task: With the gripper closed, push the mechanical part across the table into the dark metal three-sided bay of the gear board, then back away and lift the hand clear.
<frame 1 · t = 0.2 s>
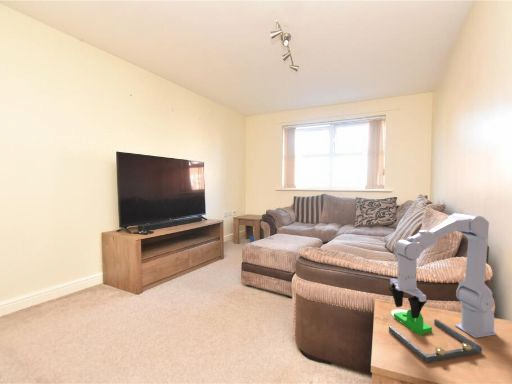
hand: (406, 311, 92), 10 cm above the table, tool pointing down, fingers open, 7 cm apart
mechanical part: (411, 325, 101), on the table
gear bay: (431, 341, 90), on the table
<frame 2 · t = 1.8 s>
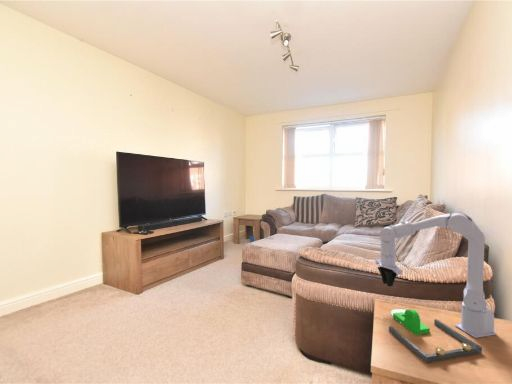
hand: (387, 284, 114), 10 cm above the table, tool pointing down, fingers closed
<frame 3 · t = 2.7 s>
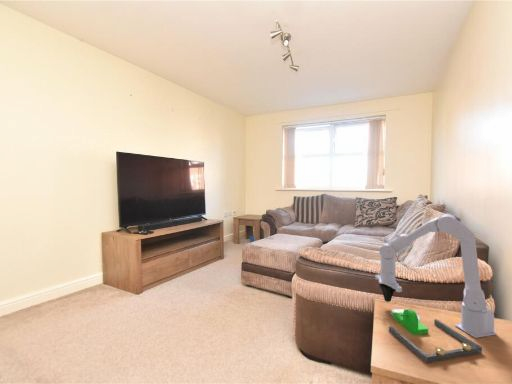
hand: (387, 300, 114), 3 cm above the table, tool pointing down, fingers closed
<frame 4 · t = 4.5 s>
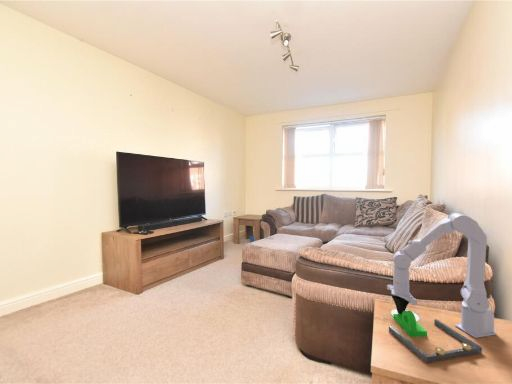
hand: (401, 313, 106), 1 cm above the table, tool pointing down, fingers closed
mechanical part: (409, 327, 99), on the table, touching gripper
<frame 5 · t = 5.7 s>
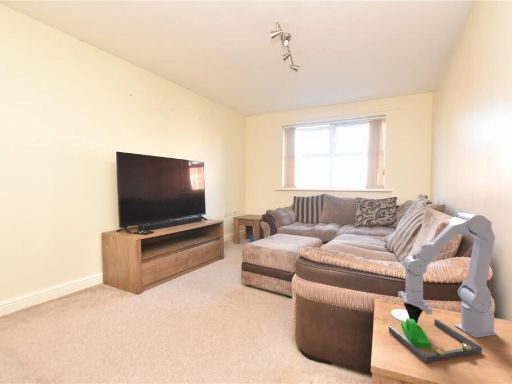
hand: (413, 322, 100), 1 cm above the table, tool pointing down, fingers closed
mechanical part: (414, 337, 93), on the table
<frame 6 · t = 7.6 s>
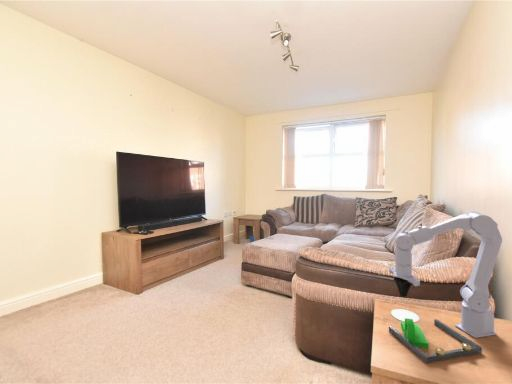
hand: (403, 296, 105), 9 cm above the table, tool pointing down, fingers closed
nothing on the table moved.
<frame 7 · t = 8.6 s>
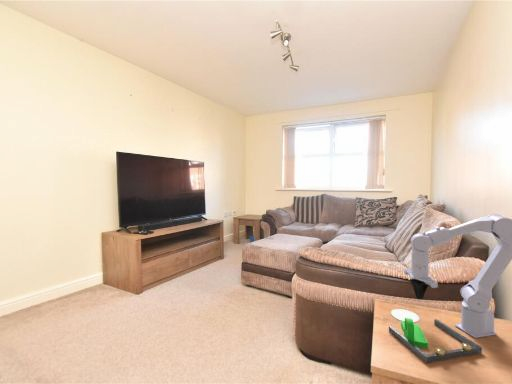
hand: (419, 297, 103), 9 cm above the table, tool pointing down, fingers closed
nothing on the table moved.
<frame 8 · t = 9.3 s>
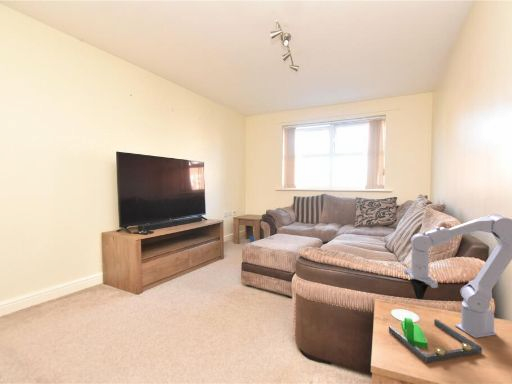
hand: (419, 297, 103), 9 cm above the table, tool pointing down, fingers closed
nothing on the table moved.
at the end: mechanical part inside the target area on the gear bay (6.4 cm from its centre), point -0.5 cm above the gear bay's base; mechanical part tilted 0°; mechanical part moved 8.3 cm from its start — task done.
